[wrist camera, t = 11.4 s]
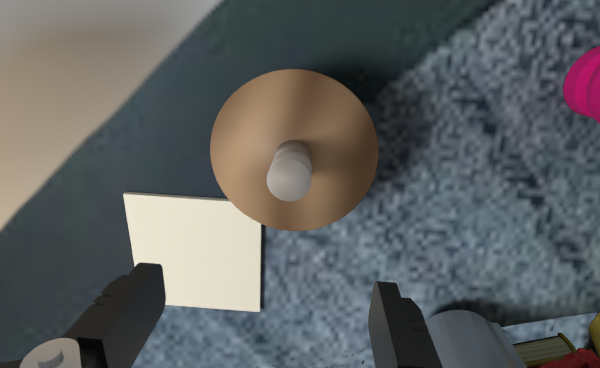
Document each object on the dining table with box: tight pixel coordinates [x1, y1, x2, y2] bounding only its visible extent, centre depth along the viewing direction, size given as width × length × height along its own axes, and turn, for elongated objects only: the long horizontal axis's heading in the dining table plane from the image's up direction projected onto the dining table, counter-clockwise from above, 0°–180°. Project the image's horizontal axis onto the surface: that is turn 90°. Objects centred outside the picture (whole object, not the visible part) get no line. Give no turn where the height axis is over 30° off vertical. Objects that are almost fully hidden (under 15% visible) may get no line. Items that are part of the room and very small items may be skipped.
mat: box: [123, 192, 262, 312], centre depth 40 cm, size 15×15×1 cm
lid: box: [210, 69, 379, 231], centre depth 26 cm, size 14×14×6 cm
